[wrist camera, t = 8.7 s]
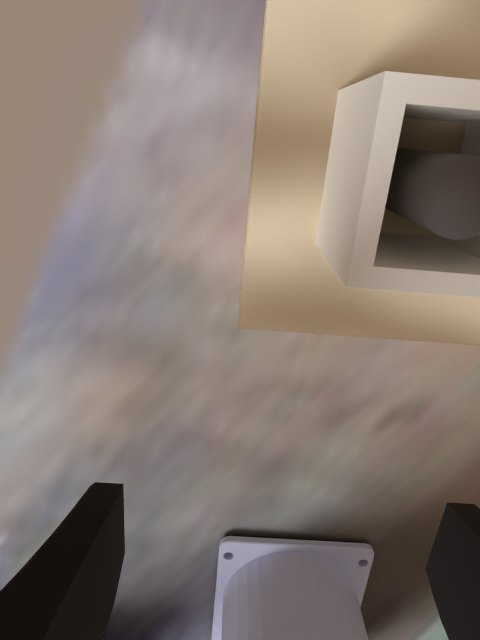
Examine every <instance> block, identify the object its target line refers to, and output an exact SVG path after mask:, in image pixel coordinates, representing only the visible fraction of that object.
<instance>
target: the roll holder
mask: <svg viewBox="0 0 480 640" xmlns="http://www.w3.org/2000/svg"><path fill="white" fill-rule="evenodd" d="M384 71H392V72H402V73H412V74H422V75H433V76H443V77H453V78H464V79H474V80H480V0H266V6H265V18H264V29H263V41H262V52H261V64H260V76H259V87H258V99H257V111H256V122H255V134H254V145H253V157H252V169H251V180H250V192H249V204H248V215H247V227H246V239H245V250H244V262H243V273H242V285H241V297H240V308H239V328H243V329H257V330H271V331H285V332H299V333H313V334H327V335H341V336H355V337H369V338H383V339H397V340H411V341H425V342H439V343H453V344H467V345H480V297H469V296H457V295H444V294H431V293H418V292H406V291H393V290H380V289H367V288H355V287H346V286H345V284H344V283H343V282H342V280H341V279H340V277H339V276H338V275H337V273H336V272H335V270H334V269H333V268H332V266H331V265H330V263H329V262H328V260H327V259H326V258H325V256H324V255H323V253H322V252H321V251H320V249H319V248H318V246H317V245H316V237H317V230H318V224H319V217H320V210H321V203H322V197H323V190H324V183H325V177H326V170H327V163H328V157H329V150H330V143H331V136H332V130H333V123H334V116H335V110H336V103H337V96H338V90H340V89H343V88H345V87H348V86H350V85H353V84H355V83H357V82H360V81H362V80H365V79H367V78H369V77H372V76H374V75H377V74H379V73H382V72H384ZM466 125H467V123H461V122H450V121H439V120H428V119H418V118H407V117H403V122H402V127H401V132H400V137H399V142H398V146H397V151H396V156H395V161H394V166H393V171H392V176H391V181H390V186H389V191H388V196H387V201H386V206H385V211H384V216H383V221H382V226H381V231H380V232H383V233H395V234H407V235H419V236H431V237H438V236H441V237H444V238H447V239H451V240H462V239H467V238H471V237H474V236H476V235H478V234H480V156H474V155H464V154H459V153H460V149H461V145H462V141H463V137H464V133H465V129H466Z"/></svg>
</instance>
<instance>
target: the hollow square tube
mask: <svg viewBox="0 0 480 640" xmlns="http://www.w3.org/2000/svg"><path fill="white" fill-rule="evenodd" d="M403 117H407V118H418V119H428V120H439V121H450V122H461V123H467V125H466V129H465V133H464V137H463V141H462V145H461V149H460V153H459V154H464V155H474V156H480V80H474V79H464V78H453V77H443V76H433V75H422V74H412V73H402V72H392V71H384V72H382V73H379V74H377V75H374V76H372V77H369V78H367V79H365V80H362V81H360V82H357V83H355V84H353V85H350V86H348V87H345V88H343V89H340V90H338V96H337V103H336V110H335V116H334V123H333V130H332V136H331V143H330V150H329V157H328V163H327V170H326V177H325V183H324V190H323V197H322V203H321V210H320V217H319V224H318V230H317V237H316V245H317V246H318V248H319V249H320V251H321V252H322V253H323V255H324V256H325V258H326V259H327V260H328V262H329V263H330V265H331V266H332V268H333V269H334V270H335V272H336V273H337V275H338V276H339V277H340V279H341V280H342V282H343V283H344V284H345V286H346V287H355V288H367V289H380V290H393V291H406V292H418V293H431V294H444V295H457V296H469V297H480V234H478V235H476V236H474V237H471V238H467V239H462V240H451V239H447V238H444V237H441V236H438V237H431V236H419V235H407V234H395V233H383V232H380V231H381V226H382V221H383V216H384V211H385V206H386V201H387V196H388V191H389V186H390V181H391V176H392V171H393V166H394V161H395V156H396V151H397V146H398V142H399V137H400V132H401V127H402V122H403Z"/></svg>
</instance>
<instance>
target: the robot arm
mask: <svg viewBox="0 0 480 640" xmlns="http://www.w3.org/2000/svg"><path fill="white" fill-rule="evenodd" d="M227 552H230V553H227ZM124 554H125V542H124V497H123V484H115V483H98V482H95V483H94V484H92V485H91V486H90V487H89V488H88V490H87V491H86V492H85V494H84V495H83V496H82V498H81V499H80V500H79V501H78V503H77V504H76V505H75V507H74V508H73V509H72V510H71V512H70V513H69V514H68V515H67V517H66V518H65V519H64V520H63V521H62V523H61V524H60V525H59V526H58V527H57V529H56V530H55V531H54V532H53V533H52V535H51V536H50V537H49V538H48V539H47V540H46V542H45V543H44V544H43V545H42V546H41V547H40V548H39V550H38V551H37V552H36V553H35V554H34V555H33V556H32V558H31V559H30V560H29V561H28V562H27V563H26V564H25V565H24V567H23V568H22V569H21V570H20V571H19V572H18V573H17V574H16V575H15V576H14V577H13V578H12V579H11V580H10V581H9V583H8V584H7V585H6V586H5V587H4V588H3V589H2V590H1V591H0V640H103V637H104V633H105V630H106V627H107V624H108V621H109V618H110V614H111V611H112V608H113V605H114V601H115V596H116V592H117V587H118V583H119V578H120V573H121V568H122V563H123V559H124ZM373 559H374V551H373V548H372V546H371V545H369V544H365V543H349V542H331V541H313V540H294V539H276V538H258V537H239V536H226V537H224V538H222V539H221V540H220V543H219V555H218V566H217V578H216V589H215V601H214V613H213V624H212V636H211V640H368V636H367V632H366V628H365V624H364V621H363V617H362V613H361V609H360V607H361V604H362V600H363V596H364V592H365V589H366V585H367V581H368V577H369V574H370V570H371V566H372V562H373ZM426 572H427V575H428V579H429V582H430V586H431V589H432V593H433V596H434V599H435V603H436V606H437V609H438V612H439V615H440V619H441V621H442V624H443V626H444V628H445V631H446V633H447V636H448V638H449V640H480V509H479V508H478V507H477V506H475V505H474V504H459V503H447V505H446V508H445V511H444V514H443V518H442V521H441V524H440V527H439V530H438V533H437V536H436V539H435V542H434V545H433V548H432V551H431V554H430V557H429V560H428V563H427V566H426Z"/></svg>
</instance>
